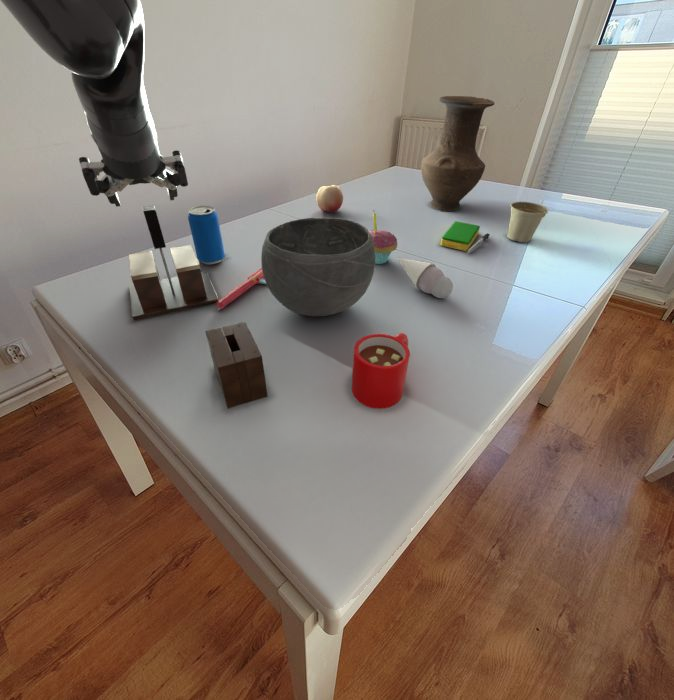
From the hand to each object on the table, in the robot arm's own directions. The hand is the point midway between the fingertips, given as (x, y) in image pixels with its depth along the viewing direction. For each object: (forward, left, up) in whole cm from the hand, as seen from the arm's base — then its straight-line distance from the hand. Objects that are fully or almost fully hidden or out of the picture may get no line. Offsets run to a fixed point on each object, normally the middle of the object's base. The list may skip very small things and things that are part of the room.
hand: (144, 198), depth 65 cm
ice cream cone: (+52, -5, -20) cm, 56 cm away
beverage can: (+7, +17, -20) cm, 28 cm away
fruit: (+42, +46, -20) cm, 66 cm away
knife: (+75, +12, -20) cm, 78 cm away
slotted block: (0, +1, -20) cm, 20 cm away
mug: (+35, -32, -20) cm, 51 cm away
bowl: (+29, -8, -20) cm, 36 cm away
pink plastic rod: (+17, +3, -20) cm, 27 cm away
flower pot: (+90, +16, -20) cm, 93 cm away
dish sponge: (+73, +18, -20) cm, 78 cm away
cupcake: (+47, +10, -20) cm, 52 cm away
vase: (+81, +45, -20) cm, 95 cm away
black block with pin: (0, +1, -19) cm, 19 cm away
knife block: (+13, -28, -20) cm, 36 cm away
